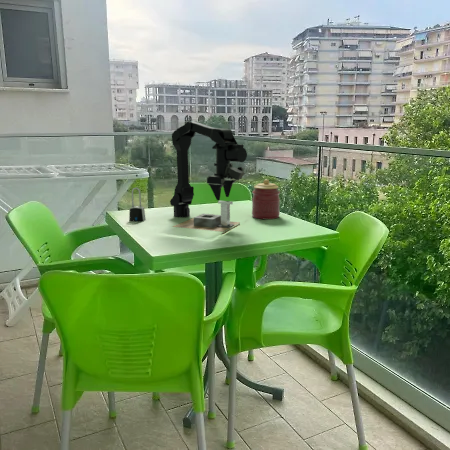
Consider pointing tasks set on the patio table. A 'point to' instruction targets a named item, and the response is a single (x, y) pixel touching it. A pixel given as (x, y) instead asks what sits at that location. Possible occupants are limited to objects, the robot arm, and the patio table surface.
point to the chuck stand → (207, 223)
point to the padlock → (136, 210)
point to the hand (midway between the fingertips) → (222, 198)
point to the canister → (265, 201)
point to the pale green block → (225, 212)
